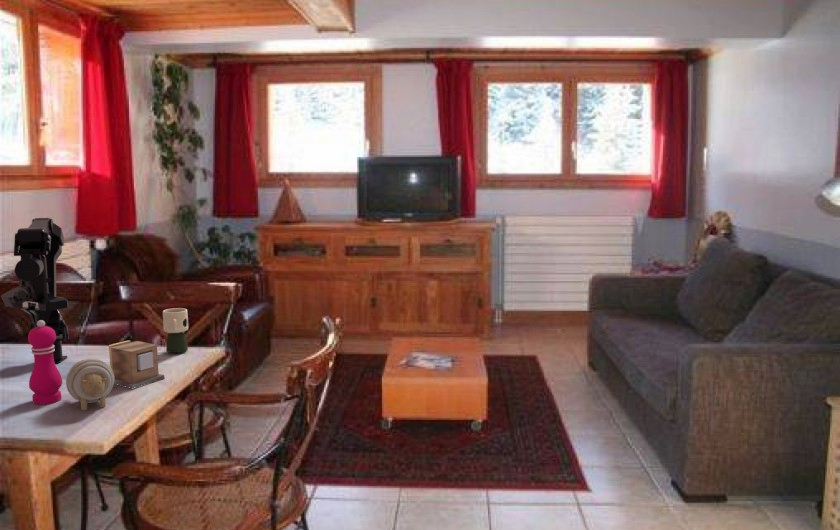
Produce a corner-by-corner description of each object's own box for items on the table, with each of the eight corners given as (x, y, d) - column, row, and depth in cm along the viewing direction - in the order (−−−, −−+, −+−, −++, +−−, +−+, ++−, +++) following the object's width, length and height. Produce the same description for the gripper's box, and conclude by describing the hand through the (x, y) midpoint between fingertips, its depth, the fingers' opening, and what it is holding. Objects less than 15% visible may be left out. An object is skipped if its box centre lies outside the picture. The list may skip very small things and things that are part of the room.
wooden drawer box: (88, 378, 195) (86, 344, 194) (121, 368, 204) (118, 336, 202) (132, 388, 186) (130, 353, 185) (164, 378, 195) (162, 344, 193)
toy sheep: (74, 418, 165) (71, 370, 164) (61, 398, 179) (57, 354, 177) (123, 408, 171) (120, 363, 170) (107, 390, 185) (104, 347, 183)
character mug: (188, 355, 217) (186, 313, 215) (163, 357, 215) (161, 314, 213) (190, 346, 227) (188, 306, 225) (166, 348, 226) (163, 307, 224)
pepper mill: (50, 406, 173) (43, 324, 170) (23, 404, 175) (16, 322, 172) (70, 396, 180) (64, 317, 177) (44, 394, 182) (38, 316, 179)
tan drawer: (110, 370, 193) (108, 345, 192) (129, 365, 198) (128, 340, 197) (137, 377, 188) (136, 350, 187) (156, 371, 193) (155, 345, 192)
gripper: (-16, 276, 191) (-10, 334, 194) (26, 282, 182) (31, 343, 184) (26, 271, 201) (30, 326, 203) (67, 276, 191) (71, 334, 194)
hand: (39, 332), depth 196 cm, fingers closed
